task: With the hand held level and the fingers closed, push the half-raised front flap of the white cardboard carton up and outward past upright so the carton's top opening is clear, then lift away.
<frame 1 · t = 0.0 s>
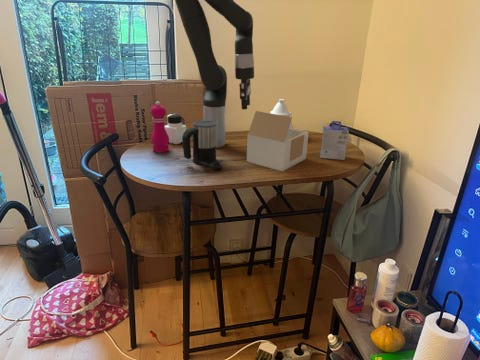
hand: (245, 107, 145), 17 cm above the table, tool pointing down, fingers open, 8 cm apart
pepper mill: (160, 150, 146), on the table
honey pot: (278, 137, 169), on the table
milk frother: (208, 164, 132), on the table
front flap: (269, 126, 126), point 15 cm above the table, hinge at 60.0°
carton: (276, 160, 137), on the table
medicine bottle: (175, 141, 157), on the table
ink cartridge box: (332, 157, 143), on the table
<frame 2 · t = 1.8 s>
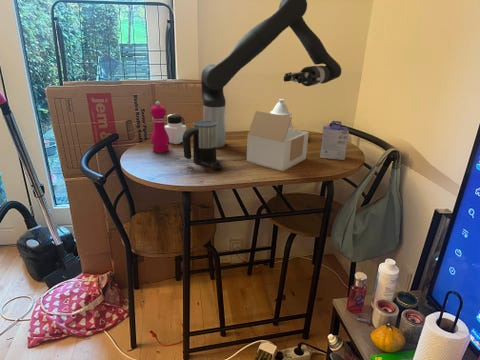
hand: (291, 79, 131), 30 cm above the table, tool horizontal, fingers open, 5 cm apart
nothing on the table moved.
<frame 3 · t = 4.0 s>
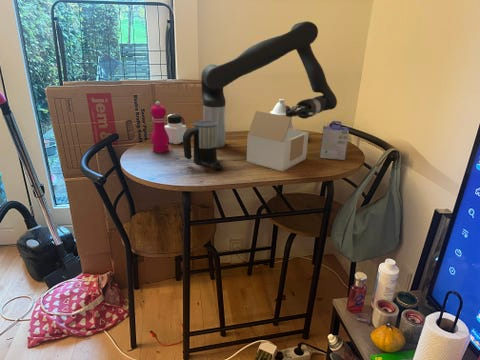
hand: (288, 114, 135), 17 cm above the table, tool horizontal, fingers closed
nothing on the table moved.
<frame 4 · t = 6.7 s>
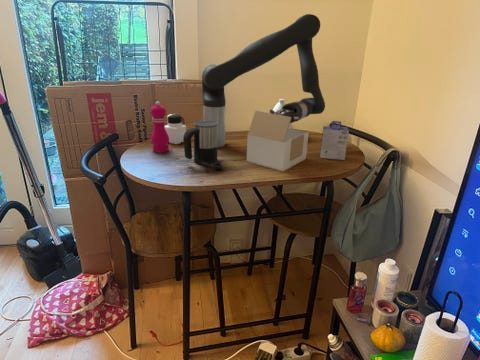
hand: (271, 119, 126), 17 cm above the table, tool horizontal, fingers closed
front flap: (269, 125, 126), point 15 cm above the table, hinge at 62.2°, touching gripper
everything else where it was.
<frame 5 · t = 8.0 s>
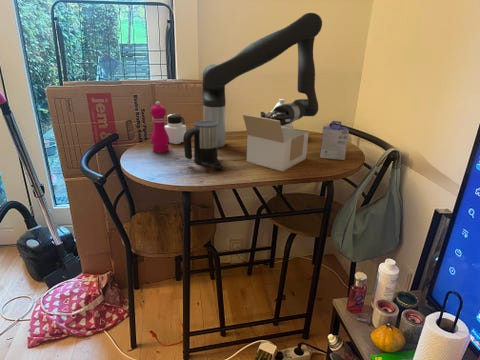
hand: (262, 121, 122), 17 cm above the table, tool horizontal, fingers closed
front flap: (263, 128, 123), point 15 cm above the table, hinge at 114.5°, touching gripper
everything else where it was.
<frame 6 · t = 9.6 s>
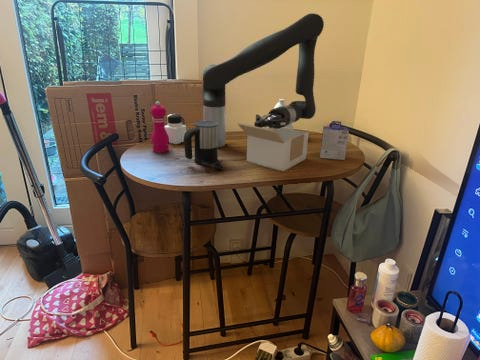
hand: (256, 125, 119), 17 cm above the table, tool horizontal, fingers closed
front flap: (260, 133, 123), point 14 cm above the table, hinge at 141.3°, touching gripper
everything else where it was.
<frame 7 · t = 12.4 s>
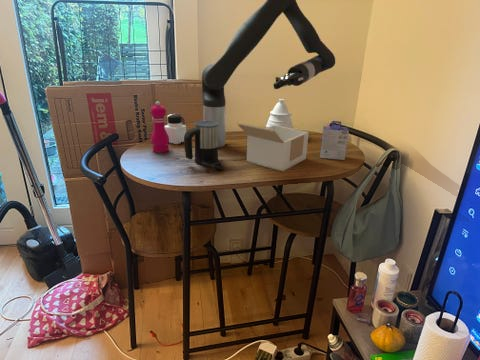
hand: (275, 86, 128), 28 cm above the table, tool horizontal, fingers closed
front flap: (260, 133, 123), point 14 cm above the table, hinge at 141.5°
everything else where it was.
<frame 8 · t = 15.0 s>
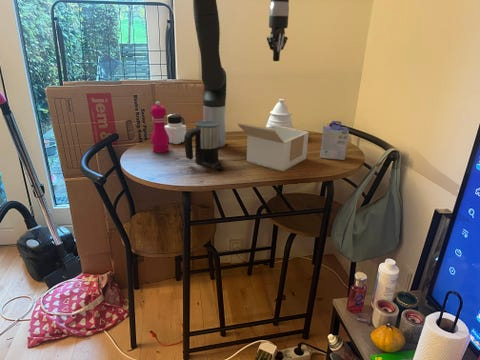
hand: (276, 61, 146), 35 cm above the table, tool pointing down, fingers closed
nothing on the table moved.
at the end: front flap at +142° (first picture: +60°); ink cartridge box moved 0.3 cm from its start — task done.
